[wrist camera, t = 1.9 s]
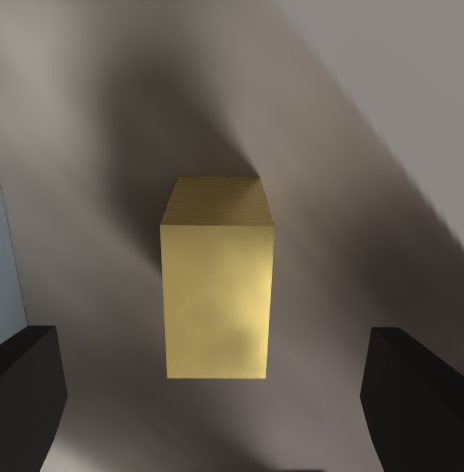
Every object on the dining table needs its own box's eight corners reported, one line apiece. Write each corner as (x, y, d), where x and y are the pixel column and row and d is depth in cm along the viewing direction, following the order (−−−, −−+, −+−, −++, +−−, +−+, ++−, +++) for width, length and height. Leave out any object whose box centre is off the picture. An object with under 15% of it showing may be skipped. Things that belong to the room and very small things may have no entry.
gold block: (254, 295, 18) (265, 378, 13) (182, 294, 18) (167, 377, 13) (259, 177, 16) (274, 226, 11) (178, 176, 16) (159, 225, 11)
